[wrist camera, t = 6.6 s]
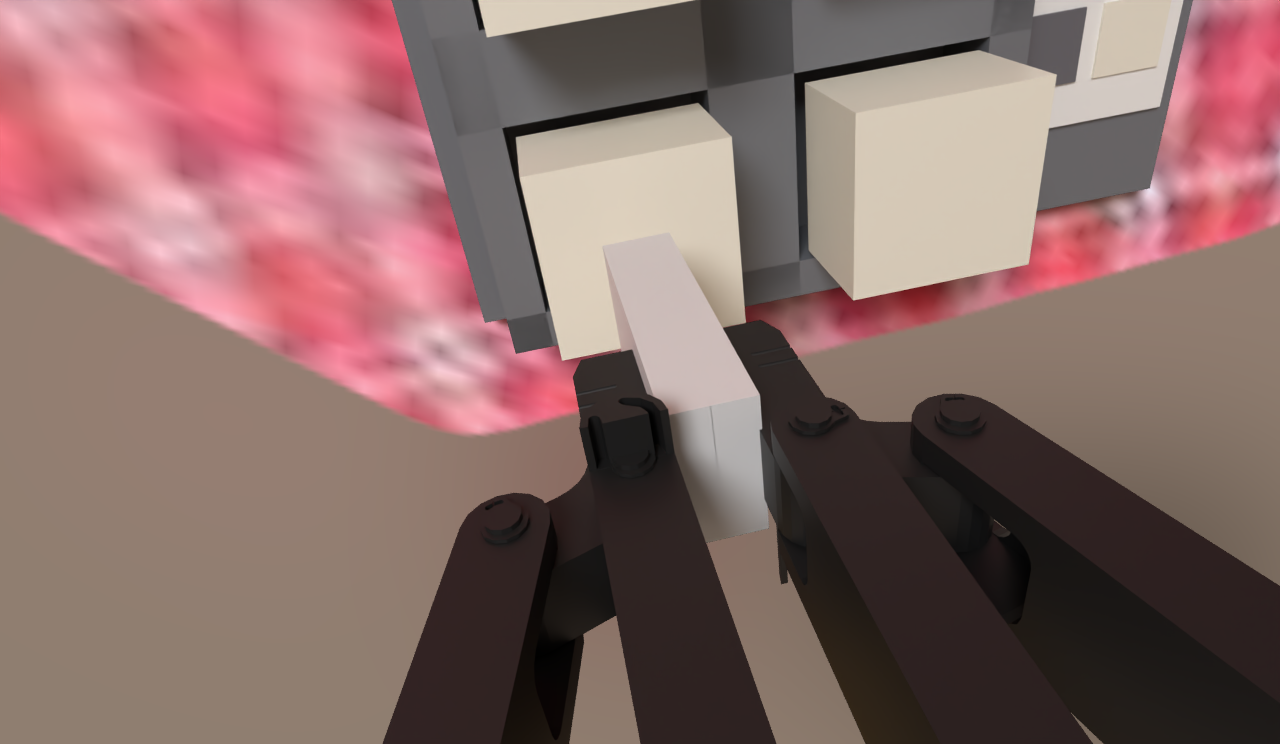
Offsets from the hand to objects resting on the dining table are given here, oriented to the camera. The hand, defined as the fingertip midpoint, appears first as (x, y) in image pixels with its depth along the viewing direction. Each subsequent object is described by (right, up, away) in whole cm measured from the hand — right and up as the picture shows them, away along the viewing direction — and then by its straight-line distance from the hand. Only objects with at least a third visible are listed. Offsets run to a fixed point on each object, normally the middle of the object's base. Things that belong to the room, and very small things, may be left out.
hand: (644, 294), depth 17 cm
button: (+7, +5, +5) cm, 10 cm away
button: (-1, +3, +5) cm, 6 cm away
